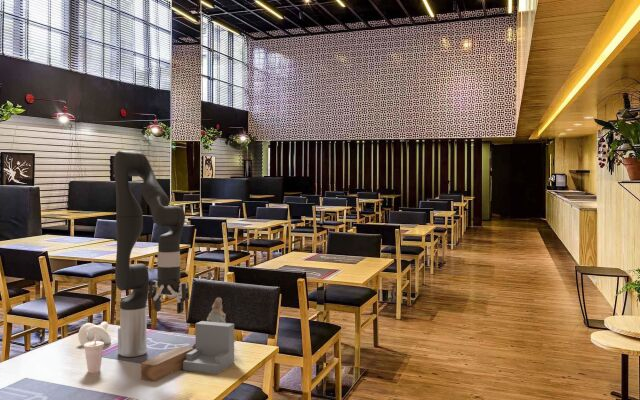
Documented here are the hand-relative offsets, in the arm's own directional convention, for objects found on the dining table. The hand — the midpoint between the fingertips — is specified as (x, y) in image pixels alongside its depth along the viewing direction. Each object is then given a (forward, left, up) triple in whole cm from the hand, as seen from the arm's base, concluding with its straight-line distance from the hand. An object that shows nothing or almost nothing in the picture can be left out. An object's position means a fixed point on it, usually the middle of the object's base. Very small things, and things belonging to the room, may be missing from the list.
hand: (168, 312), depth 172 cm
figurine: (-2, +33, -19) cm, 39 cm away
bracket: (+11, +9, -20) cm, 24 cm away
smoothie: (-23, -9, -20) cm, 32 cm away
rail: (0, 0, -20) cm, 20 cm away
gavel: (-2, +26, -22) cm, 34 cm away
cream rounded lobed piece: (-43, +15, -20) cm, 50 cm away
